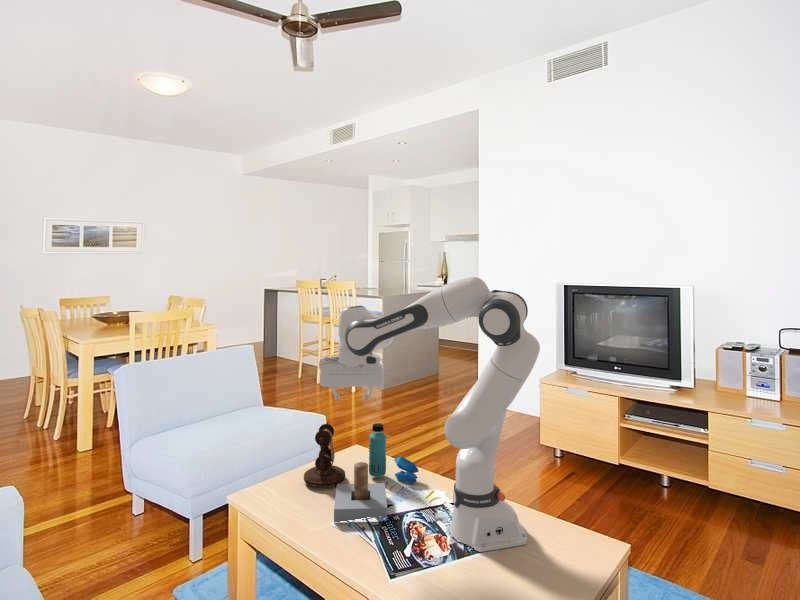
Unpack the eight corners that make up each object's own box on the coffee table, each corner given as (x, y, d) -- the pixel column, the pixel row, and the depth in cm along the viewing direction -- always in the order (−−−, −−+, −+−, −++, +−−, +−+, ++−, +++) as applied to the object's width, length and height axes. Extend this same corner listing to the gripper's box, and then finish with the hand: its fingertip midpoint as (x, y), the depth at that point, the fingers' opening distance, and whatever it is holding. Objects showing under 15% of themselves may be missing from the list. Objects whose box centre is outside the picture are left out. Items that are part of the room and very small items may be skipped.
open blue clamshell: (417, 470, 165) (389, 457, 170) (411, 491, 167) (384, 477, 171) (425, 463, 171) (398, 450, 176) (420, 483, 173) (393, 470, 178)
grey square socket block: (384, 496, 160) (384, 483, 160) (386, 522, 144) (387, 507, 144) (336, 497, 159) (336, 484, 158) (333, 523, 143) (334, 509, 142)
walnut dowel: (367, 503, 154) (368, 462, 153) (367, 510, 149) (368, 468, 148) (354, 504, 153) (354, 462, 152) (353, 511, 149) (353, 468, 148)
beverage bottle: (384, 472, 178) (384, 420, 176) (388, 480, 171) (388, 426, 170) (367, 474, 176) (367, 421, 175) (370, 482, 170) (370, 428, 168)
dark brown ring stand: (342, 491, 163) (342, 434, 161) (299, 490, 163) (299, 434, 161) (347, 472, 178) (348, 420, 176) (308, 471, 178) (308, 419, 176)
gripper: (318, 358, 145) (318, 403, 146) (384, 358, 147) (384, 402, 148) (319, 354, 151) (319, 397, 153) (383, 354, 153) (383, 396, 154)
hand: (352, 399), depth 150 cm, fingers open, 8 cm apart
